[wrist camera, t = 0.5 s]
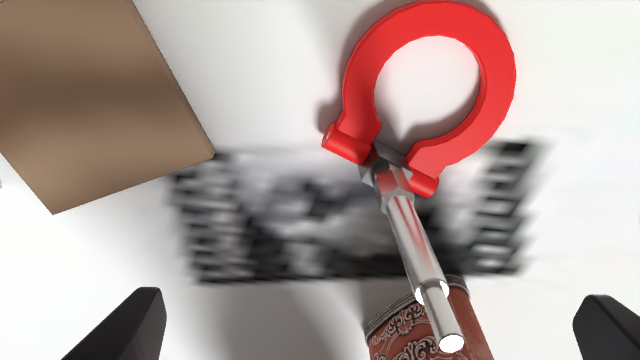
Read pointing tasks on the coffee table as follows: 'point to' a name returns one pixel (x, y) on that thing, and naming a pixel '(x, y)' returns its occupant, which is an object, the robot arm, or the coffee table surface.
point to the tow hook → (426, 155)
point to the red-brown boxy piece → (424, 329)
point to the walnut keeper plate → (89, 101)
